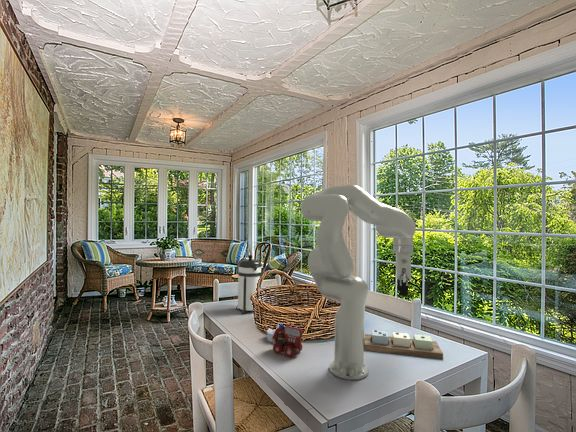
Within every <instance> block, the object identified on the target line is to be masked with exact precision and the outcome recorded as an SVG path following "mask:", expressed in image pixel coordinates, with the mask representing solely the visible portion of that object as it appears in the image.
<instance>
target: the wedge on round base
mask: <svg viewBox="0 0 576 432" xmlns="http://www.w3.org/2000/svg"><path fill="white" fill-rule="evenodd" d="M276 327H277V328H279V324H278V323H277V326H276ZM284 327H285V326H284ZM277 328H276V329H277ZM275 331H276V330H272V329H270V328H268V329H267V330H266V340H267V342H270V343H272V341H273V340H272V338H273V335H274V333H275ZM279 333H280V332H279Z"/></svg>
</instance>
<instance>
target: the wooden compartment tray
mask: <svg viewBox="0 0 576 432" xmlns="http://www.w3.org/2000/svg"><path fill="white" fill-rule="evenodd" d="M432 341H433V340H432ZM364 351H371V352H378V353H385V354H387V353H388V354H396V355H397V354H398V355H405V356H413V357H423V358H429V359H430V358H431V359H439V360H444V353H443V351H442V350H441V348H440V345H439V344H438V342H437V341H436V340H435V341H433V349H424V348H416V347H415V345H414V342H413V338H410V347H406V346H397V345H394V344H393V340H392V336H389V335H388V344H379V343H372V334H368V333H364Z"/></svg>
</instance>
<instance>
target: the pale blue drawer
mask: <svg viewBox="0 0 576 432" xmlns="http://www.w3.org/2000/svg"><path fill="white" fill-rule="evenodd" d="M371 335H372V342H371V343H375V344H384V345H389V344H388V336H389V333H388V331H386V330H376V329H372V330H371Z"/></svg>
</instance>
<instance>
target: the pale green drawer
mask: <svg viewBox="0 0 576 432" xmlns="http://www.w3.org/2000/svg"><path fill="white" fill-rule="evenodd" d="M412 339H413V342H414V345H415V346H414V348H420V349H429V350H431V349H433V339H432V338H431V336H430V335H424V334H415V333H414V334H413V337H412Z"/></svg>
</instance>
